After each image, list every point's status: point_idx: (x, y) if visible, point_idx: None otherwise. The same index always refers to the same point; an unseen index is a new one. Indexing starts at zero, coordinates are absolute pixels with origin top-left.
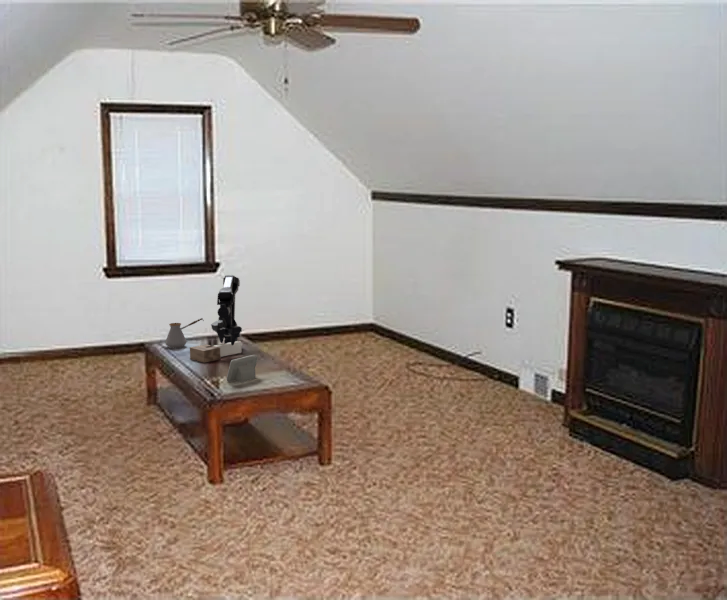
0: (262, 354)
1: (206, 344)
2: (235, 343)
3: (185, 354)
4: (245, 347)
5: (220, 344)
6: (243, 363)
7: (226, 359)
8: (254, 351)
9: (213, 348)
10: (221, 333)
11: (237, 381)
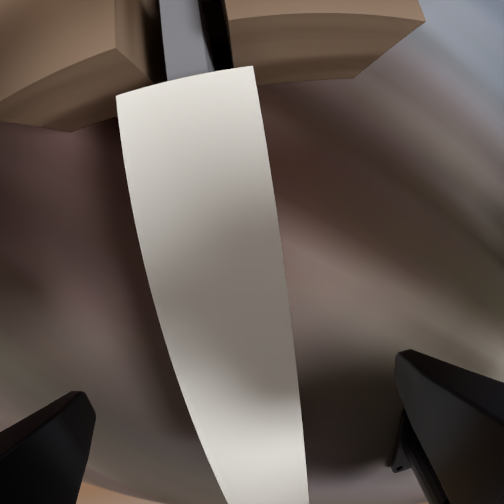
0: (94, 478)
1: (411, 18)
2: (223, 483)
3: (487, 4)
4: (371, 492)
5: (257, 272)
6: None
7: (31, 188)
8: (211, 498)
9: (2, 9)
10: (496, 495)
11: None
